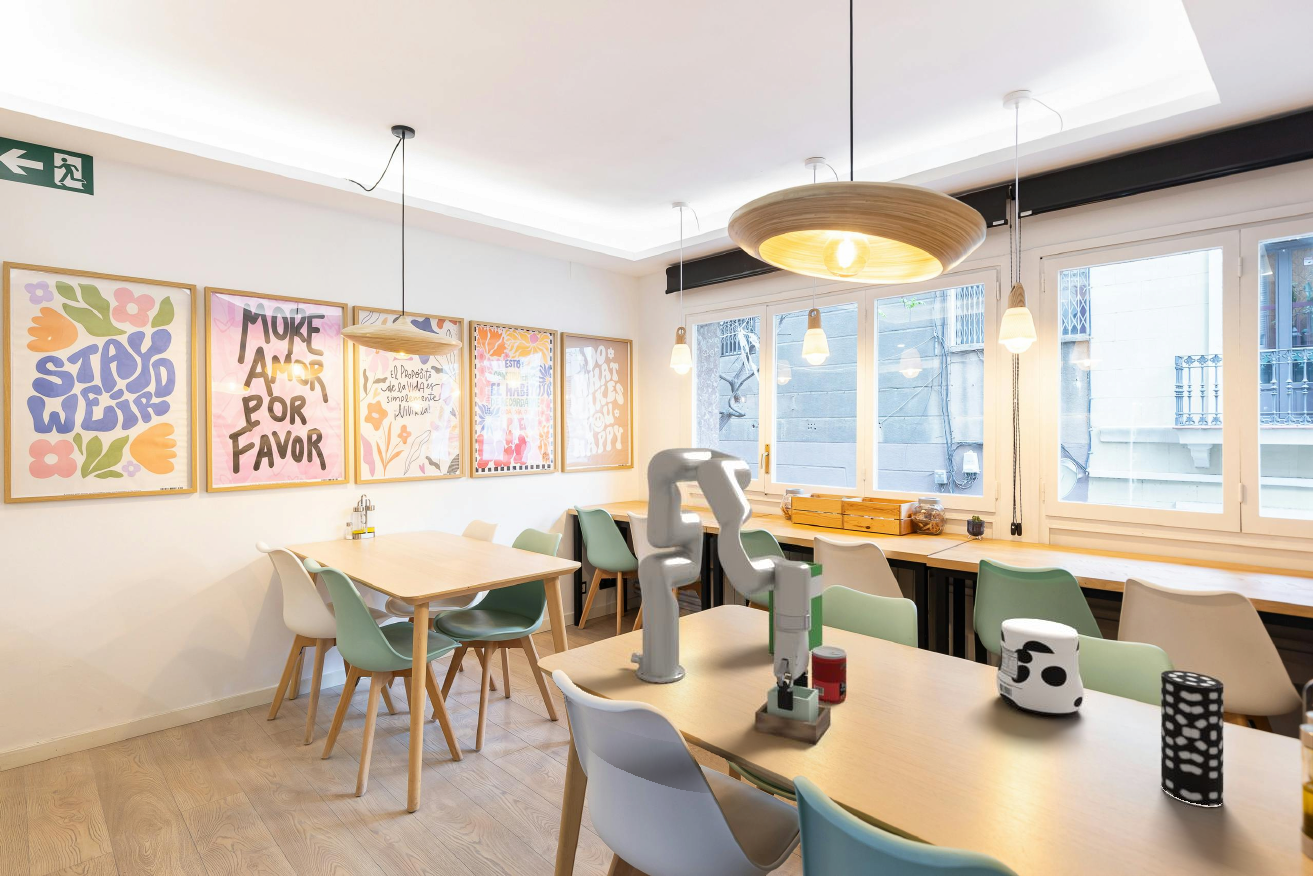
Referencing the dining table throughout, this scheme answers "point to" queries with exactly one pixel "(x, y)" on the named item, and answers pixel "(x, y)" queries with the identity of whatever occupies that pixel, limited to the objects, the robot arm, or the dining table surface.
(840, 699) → the canned food
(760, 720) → the large crate
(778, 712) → the small crate
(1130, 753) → the dining table surface
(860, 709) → the dining table surface
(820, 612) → the hardback book
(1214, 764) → the spotted tube
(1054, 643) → the milk container
